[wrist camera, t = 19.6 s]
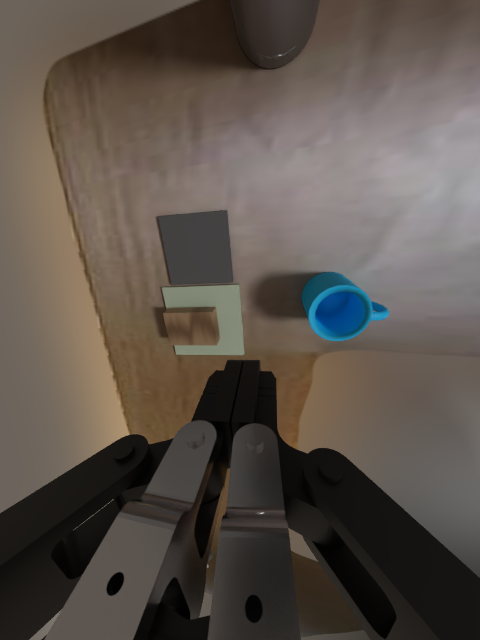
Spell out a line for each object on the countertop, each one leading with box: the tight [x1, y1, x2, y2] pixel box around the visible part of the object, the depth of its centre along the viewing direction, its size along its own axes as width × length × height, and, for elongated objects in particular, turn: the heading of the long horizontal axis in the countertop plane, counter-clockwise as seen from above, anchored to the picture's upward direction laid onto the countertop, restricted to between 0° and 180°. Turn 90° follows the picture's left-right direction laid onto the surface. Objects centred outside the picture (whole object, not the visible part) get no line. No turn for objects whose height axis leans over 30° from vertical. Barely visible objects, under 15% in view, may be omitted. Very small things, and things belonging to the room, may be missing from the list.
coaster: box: [158, 210, 233, 285], centre depth 37 cm, size 11×11×1 cm
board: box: [162, 284, 245, 355], centre depth 42 cm, size 14×14×1 cm
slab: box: [163, 307, 220, 345], centre depth 41 cm, size 6×3×9 cm
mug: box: [302, 272, 389, 341], centre depth 34 cm, size 12×8×8 cm
